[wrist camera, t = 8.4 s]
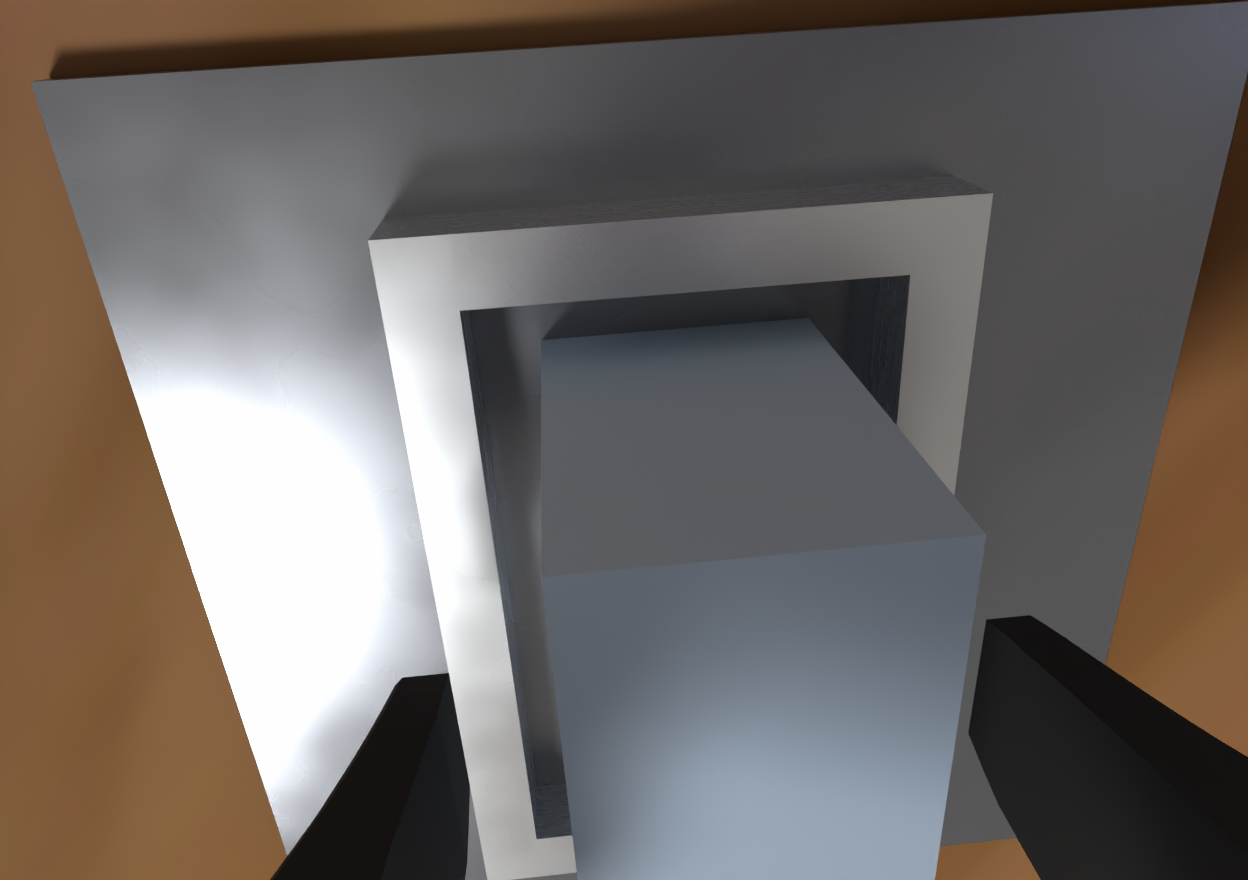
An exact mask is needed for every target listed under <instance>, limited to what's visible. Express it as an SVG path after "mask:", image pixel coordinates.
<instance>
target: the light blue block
mask: <svg viewBox="0 0 1248 880" xmlns="http://www.w3.org/2000/svg"><path fill="white" fill-rule="evenodd" d="M985 540H986V534H985V533H984V531H983V530H982V529H981V528H980V527H979V525H978V524H977V523H976V522H975V520H974V519H973V518H972V517H971V516H970V514H969V513H968V512H967V511H966V509H965V508H964V507H963V506H962V505H961V503H960V502H959V501H958V500H957V499H956V497H955V496H954V495H953V494H952V492H951V491H950V490H949V489H948V488H947V486H946V485H945V484H944V483H943V481H942V480H941V479H940V478H939V477H938V475H937V474H936V473H935V472H934V471H933V469H932V468H931V467H930V466H929V464H928V463H927V462H926V461H925V460H924V458H923V457H922V456H921V455H920V453H919V452H918V451H917V450H916V449H915V447H914V446H913V445H912V444H911V443H910V441H909V440H908V439H907V438H906V436H905V435H904V434H903V433H902V432H901V430H900V429H899V428H898V427H897V425H896V424H895V423H894V422H893V421H892V419H891V418H890V417H889V416H888V415H887V413H886V412H885V411H884V410H883V408H882V407H881V406H880V405H879V404H878V402H877V401H876V400H875V399H874V397H873V396H872V395H871V394H870V393H869V391H868V390H867V389H866V388H865V387H864V385H863V384H862V383H861V382H860V380H859V379H858V378H857V377H856V376H855V374H854V373H853V372H852V371H851V369H850V368H849V367H848V366H847V365H846V363H845V362H844V361H843V360H842V359H841V357H840V356H839V355H838V354H837V352H836V351H835V350H834V349H833V348H832V346H831V345H830V344H829V343H828V341H827V340H826V339H825V338H824V337H823V335H822V334H821V333H820V332H819V331H818V329H817V328H816V327H815V326H814V324H813V323H812V322H811V321H810V320H809V318H802V319H790V320H778V321H766V322H754V323H742V324H730V325H717V326H705V327H693V328H681V329H669V330H657V331H645V332H633V333H621V334H609V335H597V336H585V337H573V338H561V339H549V340H541V580H542V588H543V597H544V605H545V613H546V622H547V630H548V638H549V646H550V655H551V663H552V671H553V680H554V688H555V696H556V704H557V713H558V721H559V729H560V738H561V746H562V754H563V763H564V771H565V779H566V787H567V796H568V804H569V812H570V821H571V829H572V837H573V845H574V854H575V862H576V870H577V879H578V880H935V874H936V867H937V861H938V854H939V847H940V841H941V834H942V827H943V821H944V814H945V807H946V801H947V794H948V787H949V780H950V774H951V767H952V760H953V754H954V747H955V740H956V734H957V727H958V720H959V714H960V707H961V700H962V694H963V687H964V680H965V674H966V667H967V660H968V653H969V647H970V640H971V633H972V627H973V620H974V613H975V607H976V600H977V593H978V587H979V580H980V573H981V567H982V560H983V553H984V547H985Z"/></svg>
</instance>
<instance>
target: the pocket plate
mask: <svg viewBox="0 0 1248 880" xmlns="http://www.w3.org/2000/svg"><path fill="white" fill-rule="evenodd" d="M1247 73H1248V0H1241V1H1225V2H1210V3H1195V4H1180V5H1165V6H1149V7H1134V8H1119V9H1104V10H1089V11H1073V12H1058V13H1043V14H1028V15H1013V16H997V17H982V18H967V19H952V20H937V21H922V22H906V23H891V24H876V25H861V26H846V27H830V28H815V29H800V30H785V31H770V32H754V33H739V34H724V35H709V36H694V37H679V38H663V39H648V40H633V41H618V42H603V43H587V44H572V45H557V46H542V47H527V48H511V49H496V50H481V51H466V52H451V53H436V54H420V55H405V56H390V57H375V58H360V59H344V60H329V61H314V62H299V63H284V64H268V65H253V66H238V67H223V68H208V69H192V70H177V71H162V72H147V73H132V74H117V75H101V76H86V77H71V78H56V79H44V80H38V81H33V82H31V85H32V88H33V91H34V94H35V97H36V100H37V103H38V106H39V109H40V112H41V115H42V118H43V121H44V124H45V127H46V130H47V133H48V137H49V140H50V143H51V146H52V149H53V152H54V155H55V158H56V161H57V164H58V167H59V170H60V173H61V176H62V179H63V182H64V185H65V188H66V191H67V194H68V197H69V200H70V203H71V206H72V209H73V212H74V215H75V218H76V221H77V224H78V227H79V230H80V233H81V236H82V239H83V242H84V245H85V248H86V251H87V254H88V257H89V260H90V263H91V266H92V269H93V272H94V275H95V278H96V281H97V284H98V287H99V290H100V293H101V296H102V299H103V302H104V305H105V308H106V311H107V314H108V317H109V320H110V323H111V326H112V329H113V332H114V335H115V338H116V341H117V344H118V347H119V350H120V353H121V356H122V359H123V362H124V365H125V368H126V371H127V374H128V377H129V380H130V383H131V386H132V389H133V392H134V395H135V398H136V401H137V404H138V407H139V410H140V413H141V416H142V419H143V422H144V425H145V428H146V431H147V434H148V437H149V440H150V443H151V446H152V449H153V452H154V455H155V458H156V461H157V464H158V468H159V471H160V474H161V477H162V480H163V483H164V486H165V489H166V492H167V495H168V498H169V501H170V504H171V507H172V510H173V513H174V516H175V519H176V522H177V525H178V528H179V531H180V534H181V537H182V540H183V543H184V546H185V549H186V552H187V555H188V558H189V561H190V564H191V567H192V570H193V573H194V576H195V579H196V582H197V585H198V588H199V591H200V594H201V597H202V600H203V603H204V606H205V609H206V612H207V615H208V618H209V621H210V624H211V627H212V630H213V633H214V636H215V639H216V642H217V645H218V648H219V651H220V654H221V657H222V660H223V663H224V666H225V669H226V672H227V675H228V678H229V681H230V684H231V687H232V690H233V693H234V696H235V699H236V702H237V705H238V708H239V711H240V714H241V717H242V720H243V723H244V726H245V729H246V732H247V735H248V738H249V741H250V744H251V747H252V750H253V753H254V756H255V759H256V762H257V765H258V768H259V771H260V774H261V777H262V780H263V783H264V786H265V789H266V792H267V795H268V798H269V802H270V805H271V808H272V811H273V814H274V817H275V820H276V823H277V826H278V829H279V832H280V835H281V838H282V841H283V844H284V847H285V850H286V853H287V856H288V854H289V853H290V852H291V850H292V849H293V848H294V846H295V845H296V843H297V842H298V841H299V839H300V838H301V836H302V835H303V834H304V832H305V831H306V829H307V828H308V827H309V825H310V824H311V823H312V821H313V820H314V818H315V817H316V815H317V814H318V812H319V811H320V809H321V808H322V806H323V805H324V803H325V802H326V800H327V798H328V797H329V795H330V794H331V792H332V791H333V789H334V788H335V786H336V785H337V783H338V781H339V780H340V778H341V777H342V775H343V774H344V772H345V771H346V769H347V767H348V766H349V764H350V763H351V761H352V760H353V758H354V756H355V755H356V753H357V751H358V750H359V748H360V746H361V745H362V743H363V741H364V740H365V738H366V736H367V735H368V733H369V731H370V729H371V728H372V726H373V724H374V722H375V721H376V719H377V717H378V715H379V714H380V712H381V710H382V708H383V706H384V705H385V703H386V701H387V699H388V697H389V695H390V694H391V692H392V690H393V688H394V686H395V685H396V684H397V683H398V682H399V681H400V679H401V678H403V677H413V676H423V675H433V674H443V673H449V676H450V681H451V687H452V692H453V697H454V703H455V708H456V713H457V719H458V724H459V729H460V735H461V740H462V745H463V751H464V756H465V762H466V767H467V772H468V778H469V783H470V803H469V834H468V858H467V868H466V876H465V880H578V879H577V870H576V862H575V854H574V845H573V837H572V829H571V821H570V812H569V804H568V796H567V787H566V779H565V771H564V763H563V754H562V746H561V738H560V729H559V721H558V713H557V704H556V696H555V688H554V680H553V671H552V663H551V655H550V646H549V638H548V630H547V622H546V613H545V605H544V597H543V588H542V580H541V340H549V339H561V338H573V337H585V336H597V335H609V334H621V333H633V332H645V331H657V330H669V329H681V328H693V327H705V326H717V325H730V324H742V323H754V322H766V321H778V320H790V319H802V318H809V320H810V321H811V322H812V323H813V324H814V326H815V327H816V328H817V329H818V331H819V332H820V333H821V334H822V335H823V337H824V338H825V339H826V340H827V341H828V343H829V344H830V345H831V346H832V348H833V349H834V350H835V351H836V352H837V354H838V355H839V356H840V357H841V359H842V360H843V361H844V362H845V363H846V365H847V366H848V367H849V368H850V369H851V371H852V372H853V373H854V374H855V376H856V377H857V378H858V379H859V380H860V382H861V383H862V384H863V385H864V387H865V388H866V389H867V390H868V391H869V393H870V394H871V395H872V396H873V397H874V399H875V400H876V401H877V402H878V404H879V405H880V406H881V407H882V408H883V410H884V411H885V412H886V413H887V415H888V416H889V417H890V418H891V419H892V421H893V422H894V423H895V424H896V425H897V427H898V428H899V429H900V430H901V432H902V433H903V434H904V435H905V436H906V438H907V439H908V440H909V441H910V443H911V444H912V445H913V446H914V447H915V449H916V450H917V451H918V452H919V453H920V455H921V456H922V457H923V458H924V460H925V461H926V462H927V463H928V464H929V466H930V467H931V468H932V469H933V471H934V472H935V473H936V474H937V475H938V477H939V478H940V479H941V480H942V481H943V483H944V484H945V485H946V486H947V488H948V489H949V490H950V491H951V492H952V494H953V495H954V496H955V497H956V499H957V500H958V501H959V502H960V503H961V505H962V506H963V507H964V508H965V509H966V511H967V512H968V513H969V514H970V516H971V517H972V518H973V519H974V520H975V522H976V523H977V524H978V525H979V527H980V528H981V529H982V530H983V531H984V533H985V534H986V540H985V547H984V553H983V560H982V567H981V573H980V580H979V587H978V593H977V600H976V607H975V613H974V620H973V627H972V633H971V640H970V647H969V653H968V660H967V667H966V674H965V680H964V687H963V694H962V700H961V707H960V714H959V720H958V727H957V734H956V740H955V747H954V754H953V760H952V767H951V774H950V780H949V787H948V794H947V801H946V807H945V814H944V821H943V827H942V834H941V841H940V846H948V845H957V844H966V843H975V842H984V841H993V840H1001V839H1010V838H1017V837H1016V835H1015V834H1014V832H1013V830H1012V828H1011V827H1010V825H1009V823H1008V821H1007V819H1006V818H1005V816H1004V814H1003V812H1002V810H1001V809H1000V807H999V805H998V803H997V801H996V798H995V796H994V794H993V792H992V789H991V787H990V785H989V782H988V780H987V778H986V776H985V773H984V771H983V768H982V766H981V763H980V761H979V759H978V756H977V754H976V751H975V749H974V746H973V744H972V741H971V739H970V736H969V734H968V731H969V725H970V718H971V712H972V706H973V699H974V693H975V687H976V681H977V674H978V668H979V662H980V655H981V649H982V643H983V636H984V630H985V624H986V619H996V618H1006V617H1016V616H1026V615H1031V616H1033V617H1034V618H1036V619H1037V620H1039V621H1041V622H1042V623H1044V624H1045V625H1047V626H1048V627H1050V628H1051V629H1053V630H1055V631H1056V632H1058V633H1059V634H1061V635H1062V636H1063V637H1065V638H1066V639H1068V640H1069V641H1071V642H1072V643H1074V644H1075V645H1077V646H1078V647H1080V648H1081V649H1083V650H1084V651H1085V652H1087V653H1088V654H1090V655H1091V656H1093V657H1094V658H1096V659H1097V660H1099V661H1100V662H1102V663H1103V664H1104V665H1105V663H1106V659H1107V655H1108V650H1109V646H1110V642H1111V638H1112V634H1113V630H1114V625H1115V621H1116V617H1117V613H1118V609H1119V605H1120V601H1121V596H1122V592H1123V588H1124V584H1125V580H1126V576H1127V572H1128V567H1129V563H1130V559H1131V555H1132V551H1133V547H1134V542H1135V538H1136V534H1137V530H1138V526H1139V522H1140V518H1141V513H1142V509H1143V505H1144V501H1145V497H1146V493H1147V488H1148V484H1149V480H1150V476H1151V472H1152V468H1153V464H1154V459H1155V455H1156V451H1157V447H1158V443H1159V439H1160V435H1161V430H1162V426H1163V422H1164V418H1165V414H1166V410H1167V405H1168V401H1169V397H1170V393H1171V389H1172V385H1173V381H1174V376H1175V372H1176V368H1177V364H1178V360H1179V356H1180V351H1181V347H1182V343H1183V339H1184V335H1185V331H1186V327H1187V322H1188V318H1189V314H1190V310H1191V306H1192V302H1193V297H1194V293H1195V289H1196V285H1197V281H1198V277H1199V273H1200V268H1201V264H1202V260H1203V256H1204V252H1205V248H1206V244H1207V239H1208V235H1209V231H1210V227H1211V223H1212V219H1213V214H1214V210H1215V206H1216V202H1217V198H1218V194H1219V190H1220V185H1221V181H1222V177H1223V173H1224V169H1225V165H1226V160H1227V156H1228V152H1229V148H1230V144H1231V140H1232V136H1233V131H1234V127H1235V123H1236V119H1237V115H1238V111H1239V107H1240V102H1241V98H1242V94H1243V90H1244V86H1245V82H1246V77H1247Z"/></svg>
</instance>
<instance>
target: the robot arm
mask: <svg viewBox="0 0 1248 880" xmlns="http://www.w3.org/2000/svg"><path fill="white" fill-rule="evenodd" d="M968 734H969V736H970V739H971V741H972V744H973V746H974V749H975V751H976V754H977V756H978V759H979V761H980V763H981V766H982V768H983V771H984V773H985V776H986V778H987V780H988V782H989V785H990V787H991V789H992V792H993V794H994V796H995V798H996V801H997V803H998V805H999V807H1000V809H1001V810H1002V812H1003V814H1004V816H1005V818H1006V819H1007V821H1008V823H1009V825H1010V827H1011V828H1012V830H1013V832H1014V834H1015V835H1016V837H1017V839H1018V841H1019V842H1020V844H1021V846H1022V848H1023V849H1024V851H1025V853H1026V855H1027V856H1028V858H1029V860H1030V862H1031V863H1032V865H1033V867H1034V868H1035V870H1036V872H1037V874H1038V875H1039V877H1040V879H1041V880H1248V757H1247V756H1245V755H1243V754H1242V753H1240V752H1238V751H1237V750H1235V749H1233V748H1232V747H1230V746H1228V745H1227V744H1225V743H1223V742H1222V741H1220V740H1218V739H1217V738H1215V737H1214V736H1212V735H1210V734H1209V733H1207V732H1206V731H1204V730H1202V729H1201V728H1199V727H1198V726H1196V725H1195V724H1193V723H1191V722H1190V721H1188V720H1187V719H1185V718H1184V717H1182V716H1181V715H1179V714H1177V713H1176V712H1174V711H1173V710H1171V709H1170V708H1168V707H1167V706H1165V705H1164V704H1162V703H1161V702H1159V701H1158V700H1156V699H1155V698H1153V697H1152V696H1150V695H1149V694H1147V693H1146V692H1144V691H1143V690H1141V689H1140V688H1138V687H1137V686H1135V685H1134V684H1132V683H1131V682H1129V681H1128V680H1126V679H1125V678H1123V677H1122V676H1121V675H1119V674H1118V673H1116V672H1115V671H1113V670H1112V669H1110V668H1109V667H1107V666H1106V665H1104V664H1103V663H1102V662H1100V661H1099V660H1097V659H1096V658H1094V657H1093V656H1091V655H1090V654H1088V653H1087V652H1085V651H1084V650H1083V649H1081V648H1080V647H1078V646H1077V645H1075V644H1074V643H1072V642H1071V641H1069V640H1068V639H1066V638H1065V637H1063V636H1062V635H1061V634H1059V633H1058V632H1056V631H1055V630H1053V629H1051V628H1050V627H1048V626H1047V625H1045V624H1044V623H1042V622H1041V621H1039V620H1037V619H1036V618H1034V617H1033V616H1031V615H1026V616H1016V617H1006V618H996V619H986V624H985V630H984V636H983V643H982V649H981V655H980V662H979V668H978V674H977V681H976V687H975V693H974V699H973V706H972V712H971V718H970V725H969V731H968ZM469 803H470V783H469V778H468V772H467V767H466V762H465V756H464V751H463V745H462V740H461V735H460V729H459V724H458V719H457V713H456V708H455V703H454V697H453V692H452V687H451V681H450V676H449V673H443V674H433V675H423V676H413V677H403V678H401V679H400V681H399V682H398V683H397V684H396V685H395V686H394V688H393V690H392V692H391V694H390V695H389V697H388V699H387V701H386V703H385V705H384V706H383V708H382V710H381V712H380V714H379V715H378V717H377V719H376V721H375V722H374V724H373V726H372V728H371V729H370V731H369V733H368V735H367V736H366V738H365V740H364V741H363V743H362V745H361V746H360V748H359V750H358V751H357V753H356V755H355V756H354V758H353V760H352V761H351V763H350V764H349V766H348V767H347V769H346V771H345V772H344V774H343V775H342V777H341V778H340V780H339V781H338V783H337V785H336V786H335V788H334V789H333V791H332V792H331V794H330V795H329V797H328V798H327V800H326V802H325V803H324V805H323V806H322V808H321V809H320V811H319V812H318V814H317V815H316V817H315V818H314V820H313V821H312V823H311V824H310V825H309V827H308V828H307V829H306V831H305V832H304V834H303V835H302V836H301V838H300V839H299V841H298V842H297V843H296V845H295V846H294V848H293V849H292V850H291V852H290V853H289V854H288V856H287V857H286V859H285V860H284V861H283V863H282V864H281V866H280V867H279V868H278V870H277V871H276V873H275V874H274V875H273V877H272V878H271V879H270V880H465V876H466V868H467V858H468V834H469Z"/></svg>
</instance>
